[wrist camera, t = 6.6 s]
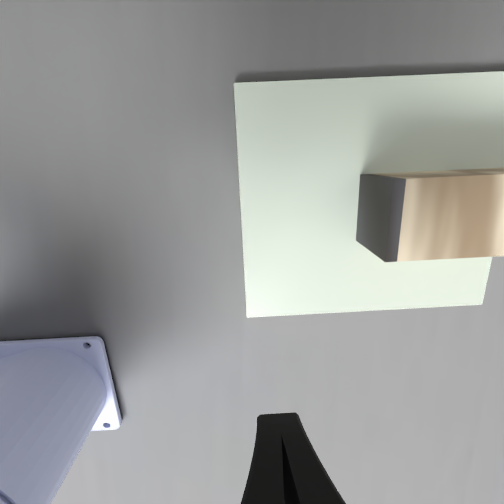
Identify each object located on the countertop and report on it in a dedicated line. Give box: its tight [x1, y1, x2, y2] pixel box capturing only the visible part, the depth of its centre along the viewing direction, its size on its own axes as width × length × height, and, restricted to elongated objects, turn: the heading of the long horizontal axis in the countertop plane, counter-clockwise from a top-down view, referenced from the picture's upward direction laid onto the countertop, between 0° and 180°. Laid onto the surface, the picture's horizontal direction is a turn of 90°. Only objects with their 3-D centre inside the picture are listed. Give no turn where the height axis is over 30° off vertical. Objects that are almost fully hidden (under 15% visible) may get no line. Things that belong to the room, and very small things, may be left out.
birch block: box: [356, 167, 504, 262], centre depth 16 cm, size 4×4×10 cm
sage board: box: [234, 71, 504, 318], centre depth 18 cm, size 16×14×1 cm
